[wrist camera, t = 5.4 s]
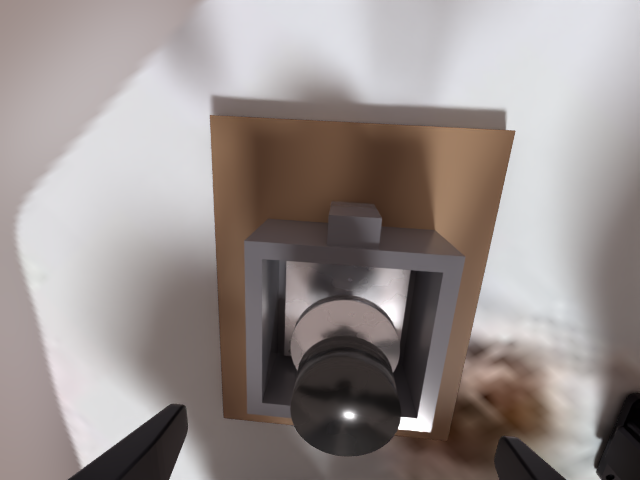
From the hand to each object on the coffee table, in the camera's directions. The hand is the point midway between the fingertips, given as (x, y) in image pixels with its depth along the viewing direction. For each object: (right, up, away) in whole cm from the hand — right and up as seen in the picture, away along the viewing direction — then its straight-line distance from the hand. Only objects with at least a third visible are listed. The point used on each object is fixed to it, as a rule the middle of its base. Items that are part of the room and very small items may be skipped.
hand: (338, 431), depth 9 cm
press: (+1, +2, +8) cm, 8 cm away
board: (+1, +2, +9) cm, 9 cm away
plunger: (+1, +2, +7) cm, 8 cm away
